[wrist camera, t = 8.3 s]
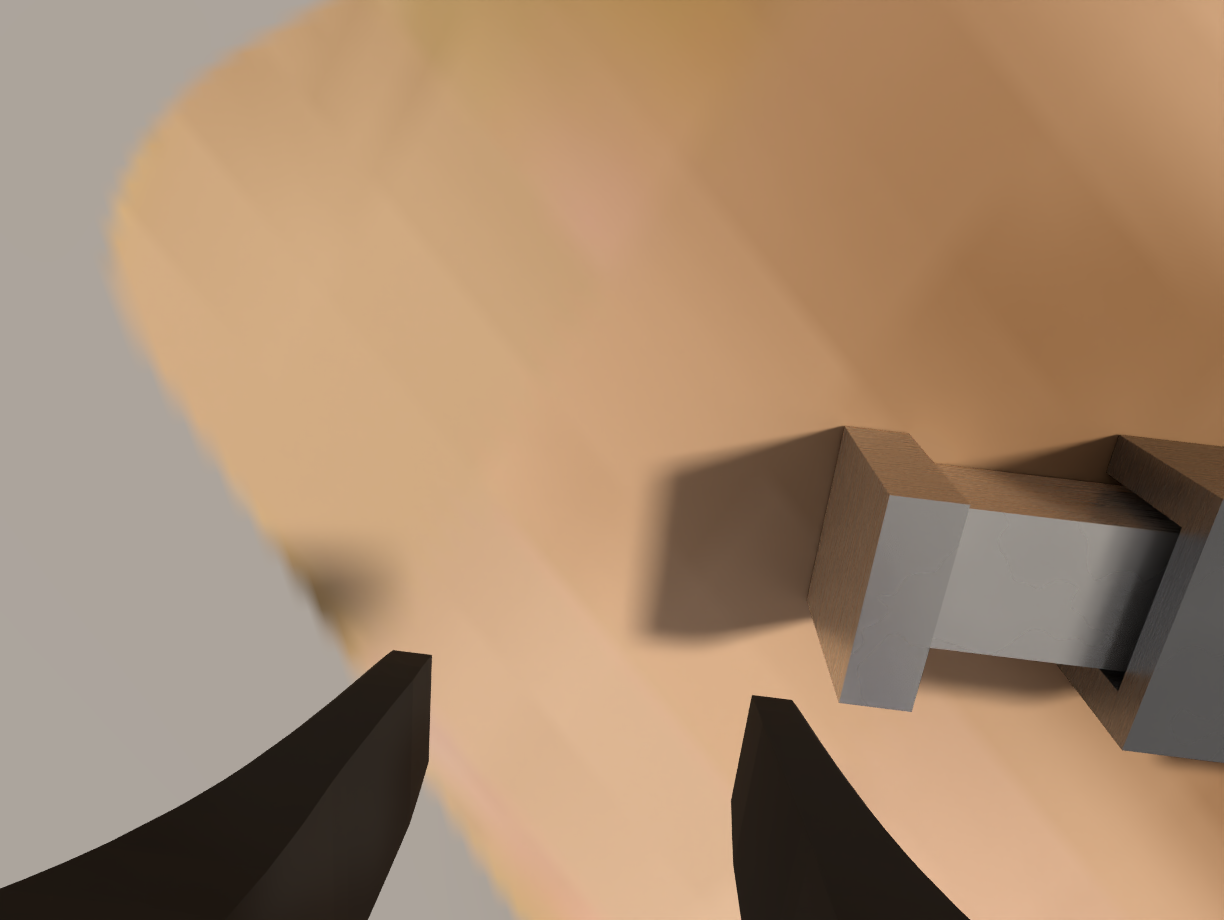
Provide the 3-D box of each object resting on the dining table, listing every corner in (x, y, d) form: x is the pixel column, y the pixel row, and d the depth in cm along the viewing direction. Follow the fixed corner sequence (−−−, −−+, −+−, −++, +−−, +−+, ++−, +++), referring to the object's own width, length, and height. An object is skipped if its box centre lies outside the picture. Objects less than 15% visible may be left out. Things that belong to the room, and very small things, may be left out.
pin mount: (1194, 668, 22) (1301, 772, 18) (1045, 649, 22) (1121, 750, 19) (1284, 454, 20) (1426, 523, 16) (1119, 435, 20) (1223, 499, 16)
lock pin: (1239, 653, 22) (1371, 769, 18) (806, 600, 22) (838, 702, 18) (1316, 481, 20) (1482, 565, 16) (844, 425, 20) (889, 495, 16)
